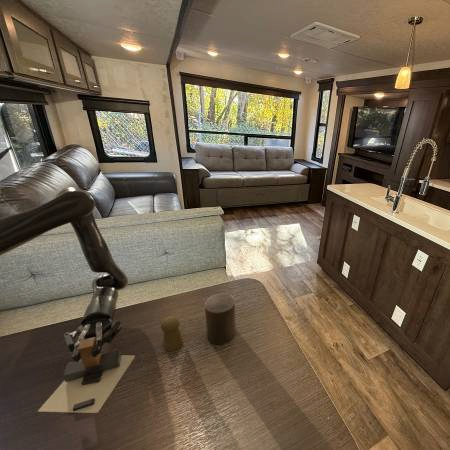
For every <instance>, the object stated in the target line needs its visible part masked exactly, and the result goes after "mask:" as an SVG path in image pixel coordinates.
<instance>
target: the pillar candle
mask: <svg viewBox="0 0 450 450" xmlns="http://www.w3.org/2000/svg"><path fill="white" fill-rule="evenodd" d="M235 299H236V298H235V297H234V296H233V295H232V294H228V293H217V294H213V295H210V297H208V298H207V300H206V301H205V303H204V312H205V313H204V314H205V325H206V327H205V328H206V336H207V340H208V341H209V342H210V343H211V344H214V345H224V344H227V343H229V342H231V340H233V339H234V337H235V336H236V332H237V328H236V326H237V325H236V300H235ZM234 335H235V336H234Z"/></svg>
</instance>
